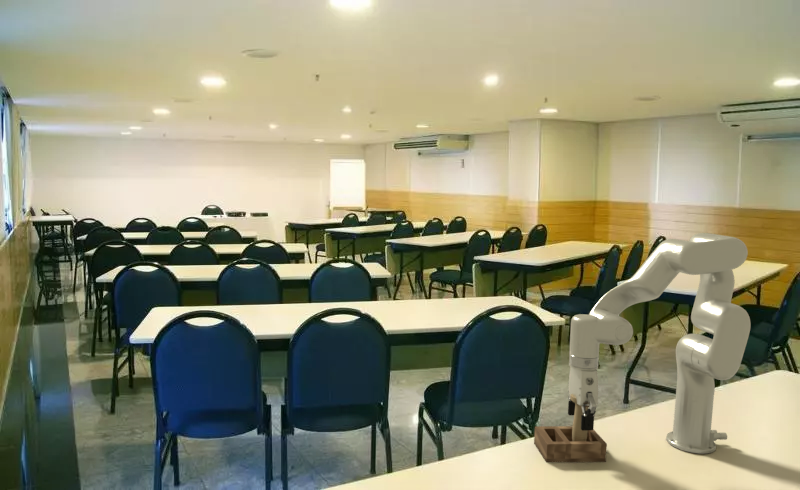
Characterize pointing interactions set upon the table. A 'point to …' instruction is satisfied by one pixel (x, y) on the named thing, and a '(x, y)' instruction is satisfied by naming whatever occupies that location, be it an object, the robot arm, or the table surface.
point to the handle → (578, 422)
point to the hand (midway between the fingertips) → (580, 422)
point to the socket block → (568, 445)
